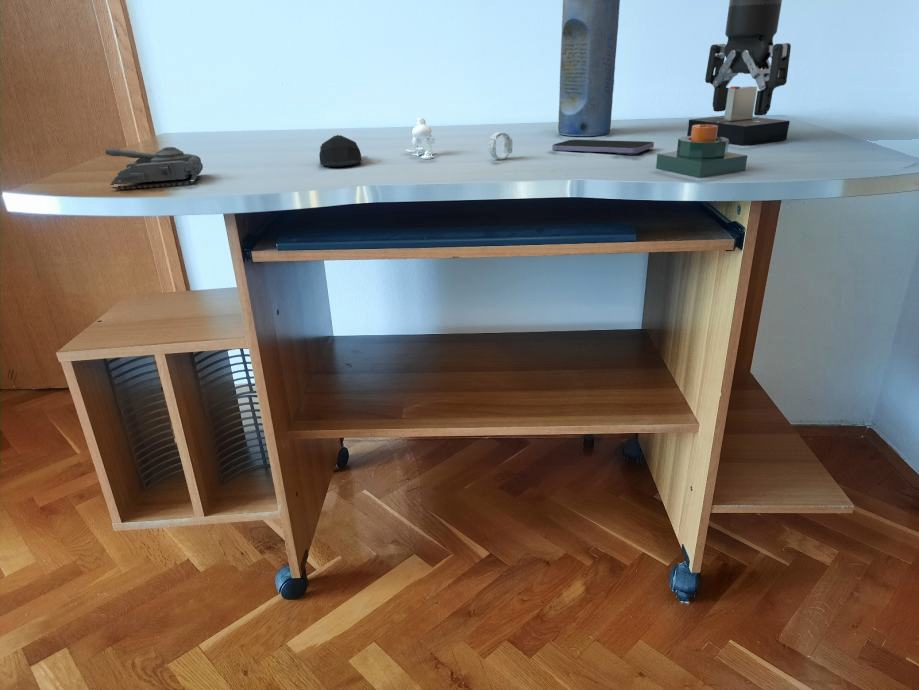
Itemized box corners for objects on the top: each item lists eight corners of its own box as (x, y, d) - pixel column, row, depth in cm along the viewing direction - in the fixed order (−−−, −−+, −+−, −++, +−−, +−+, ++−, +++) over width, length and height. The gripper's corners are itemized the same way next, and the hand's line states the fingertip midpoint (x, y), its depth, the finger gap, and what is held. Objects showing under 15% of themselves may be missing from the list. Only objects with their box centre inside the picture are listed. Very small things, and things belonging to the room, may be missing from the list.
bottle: (547, 134, 120) (551, -52, 107) (581, 128, 126) (589, -49, 113) (587, 138, 114) (597, -59, 101) (621, 132, 119) (634, -56, 106)
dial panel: (786, 139, 105) (790, 119, 103) (742, 146, 101) (745, 125, 100) (729, 132, 115) (731, 113, 113) (686, 137, 111) (689, 118, 109)
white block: (745, 118, 108) (750, 84, 106) (752, 118, 107) (757, 85, 105) (723, 120, 106) (728, 86, 104) (730, 121, 105) (735, 87, 103)
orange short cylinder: (721, 142, 83) (723, 125, 82) (703, 144, 82) (705, 128, 81) (703, 139, 86) (705, 123, 85) (685, 141, 85) (686, 125, 84)
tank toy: (107, 193, 86) (96, 153, 84) (122, 179, 94) (112, 143, 92) (201, 185, 89) (192, 146, 86) (207, 173, 97) (200, 137, 95)
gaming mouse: (357, 152, 110) (354, 127, 108) (363, 167, 97) (360, 139, 95) (320, 154, 109) (317, 130, 107) (320, 170, 96) (317, 142, 94)
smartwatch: (493, 161, 97) (494, 133, 95) (485, 159, 98) (485, 132, 97) (512, 158, 99) (513, 131, 97) (504, 157, 100) (504, 130, 98)
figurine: (432, 148, 110) (431, 114, 108) (439, 158, 101) (437, 121, 99) (406, 150, 109) (403, 116, 107) (410, 160, 101) (407, 123, 98)
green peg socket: (745, 171, 84) (750, 139, 82) (699, 178, 81) (703, 145, 79) (699, 162, 90) (703, 132, 89) (655, 168, 87) (658, 138, 86)
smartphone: (571, 139, 109) (656, 141, 101) (571, 146, 110) (655, 149, 101) (549, 145, 104) (637, 148, 95) (549, 152, 104) (637, 156, 96)
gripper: (812, -1, 95) (791, 114, 102) (736, 4, 106) (722, 108, 113) (776, 0, 92) (758, 118, 99) (702, 5, 103) (690, 111, 110)
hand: (739, 113), depth 106 cm, fingers open, 8 cm apart
